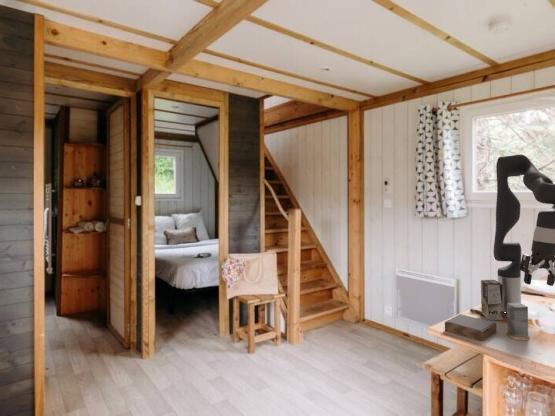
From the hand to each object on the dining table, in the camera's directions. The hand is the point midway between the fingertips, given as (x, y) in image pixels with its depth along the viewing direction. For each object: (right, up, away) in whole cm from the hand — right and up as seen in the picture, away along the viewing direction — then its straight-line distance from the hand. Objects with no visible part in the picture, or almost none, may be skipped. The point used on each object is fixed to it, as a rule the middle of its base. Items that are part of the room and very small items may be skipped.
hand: (538, 284), depth 132 cm
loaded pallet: (+2, -24, +14) cm, 28 cm away
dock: (-13, -24, +22) cm, 35 cm away
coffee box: (+5, -23, +37) cm, 44 cm away
